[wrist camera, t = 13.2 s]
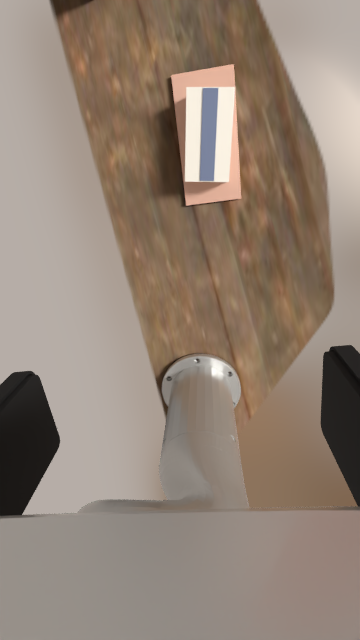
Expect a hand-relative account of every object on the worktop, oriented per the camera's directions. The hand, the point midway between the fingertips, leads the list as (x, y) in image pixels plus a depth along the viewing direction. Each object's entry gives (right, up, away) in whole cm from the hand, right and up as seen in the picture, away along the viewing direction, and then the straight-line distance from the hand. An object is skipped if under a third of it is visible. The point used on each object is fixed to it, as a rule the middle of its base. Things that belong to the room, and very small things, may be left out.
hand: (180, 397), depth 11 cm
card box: (+3, +24, +28) cm, 37 cm away
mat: (+3, +24, +29) cm, 38 cm away
